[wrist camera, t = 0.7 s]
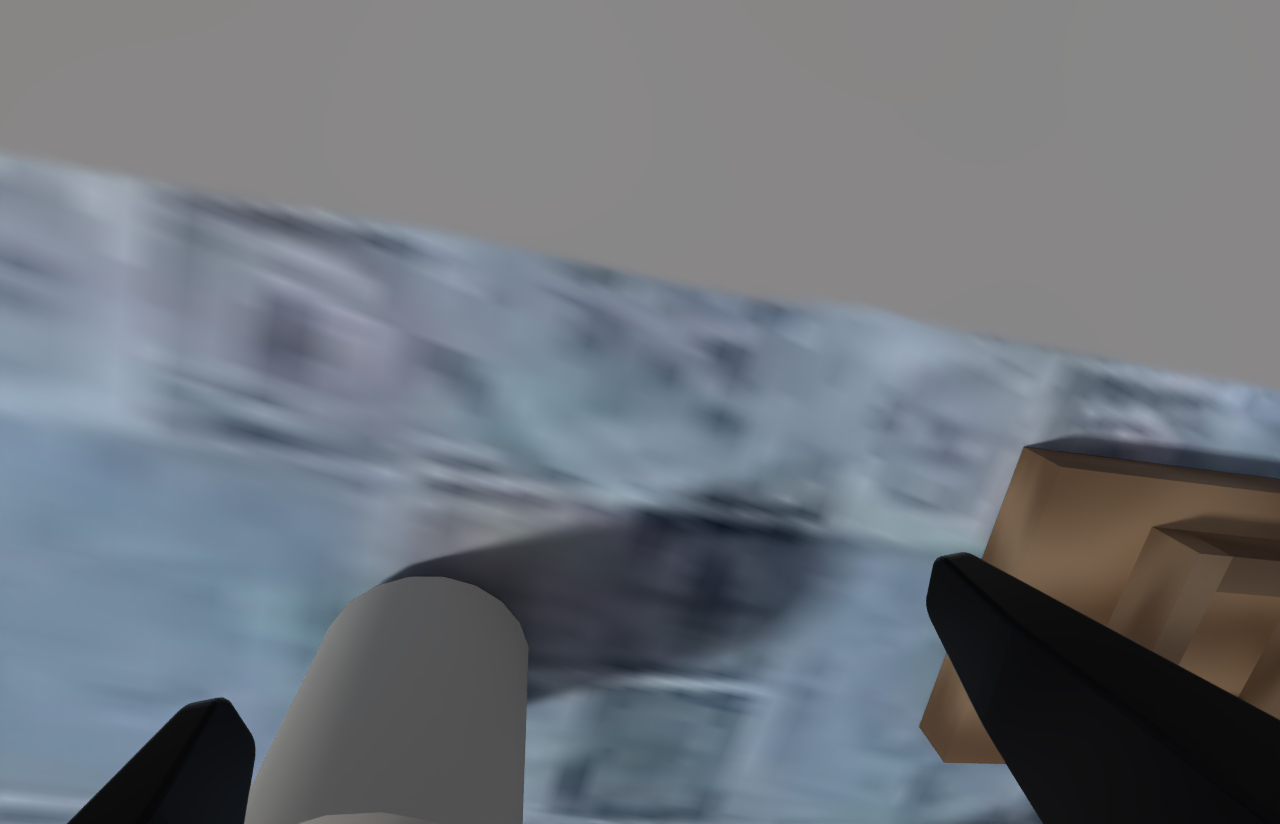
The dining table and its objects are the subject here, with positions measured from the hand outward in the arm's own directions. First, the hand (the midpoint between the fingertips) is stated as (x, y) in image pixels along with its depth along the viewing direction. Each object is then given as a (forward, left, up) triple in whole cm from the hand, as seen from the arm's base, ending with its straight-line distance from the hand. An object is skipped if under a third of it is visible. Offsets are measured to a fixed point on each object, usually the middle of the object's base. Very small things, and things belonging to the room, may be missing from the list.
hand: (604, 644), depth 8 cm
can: (-12, +4, -15) cm, 20 cm away
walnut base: (-8, -28, -15) cm, 33 cm away
